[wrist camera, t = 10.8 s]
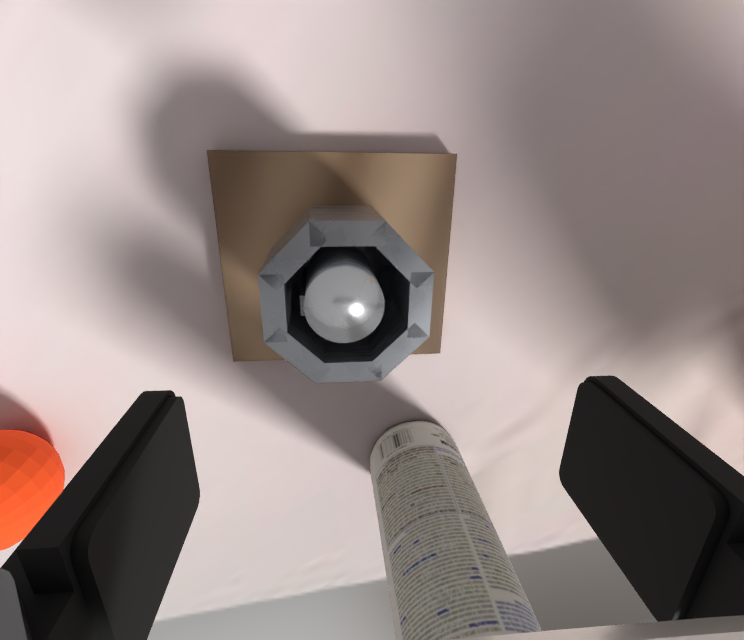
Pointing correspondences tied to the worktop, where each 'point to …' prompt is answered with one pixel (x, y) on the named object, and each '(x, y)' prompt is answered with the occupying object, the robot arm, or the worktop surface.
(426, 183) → the base plate
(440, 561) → the spray can
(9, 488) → the clementine
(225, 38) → the worktop surface
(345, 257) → the grey rounded fixture
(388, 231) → the octagonal pot
